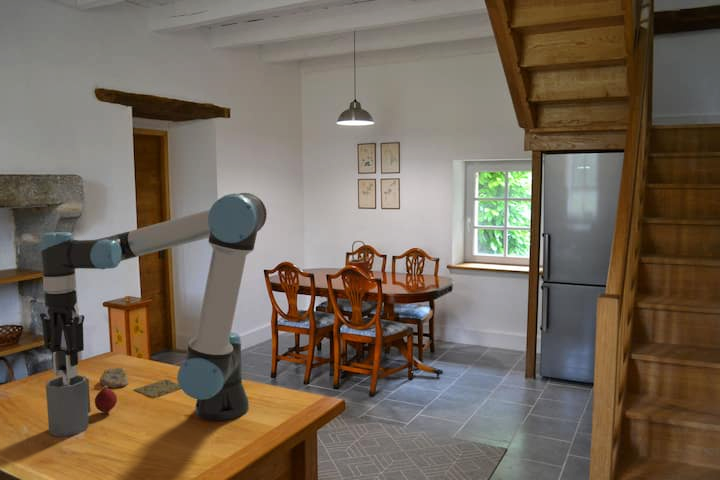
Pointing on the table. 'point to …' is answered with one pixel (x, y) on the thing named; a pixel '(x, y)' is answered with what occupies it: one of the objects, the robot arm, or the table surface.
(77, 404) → the press carafe
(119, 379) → the rock
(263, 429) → the table surface
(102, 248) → the robot arm
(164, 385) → the grey porous flat square
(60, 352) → the plunger
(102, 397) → the onion
